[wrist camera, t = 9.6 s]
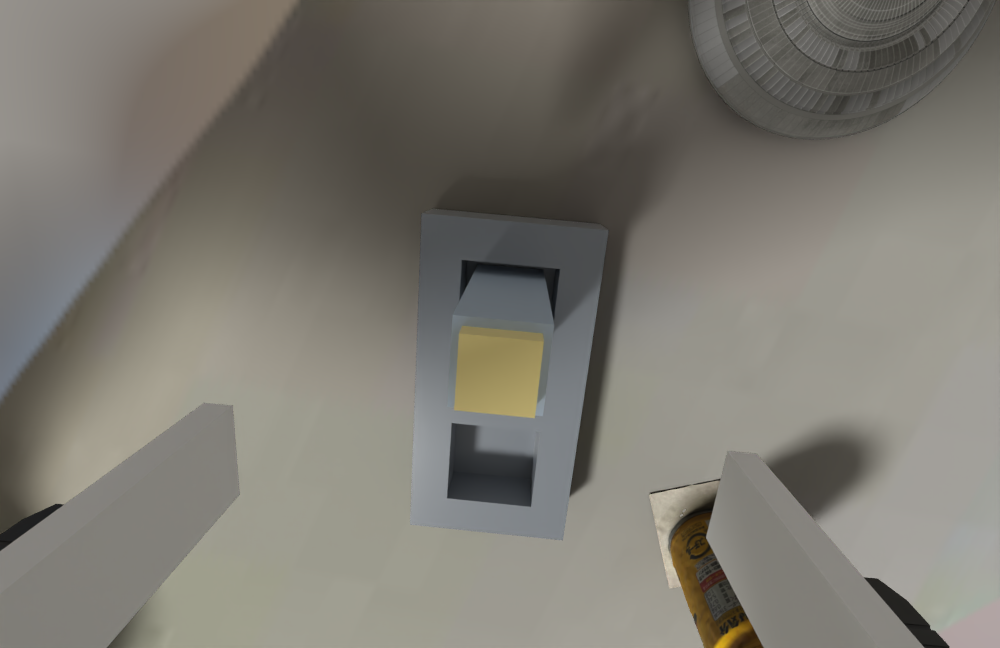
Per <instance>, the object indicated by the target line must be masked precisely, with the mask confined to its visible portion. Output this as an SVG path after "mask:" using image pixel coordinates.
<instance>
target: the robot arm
mask: <svg viewBox="0 0 1000 648" xmlns="http://www.w3.org/2000/svg"><path fill="white" fill-rule="evenodd" d="M239 495H240V491H239V478H238V466H237V453H236V440H235V428H234V415H233V405H223V404H212V403H203V404H202V405H200V406H199V407H198V408H196V409H195V410H193V411H192V412H191V413H189V414H188V415H187V416H185V417H184V418H182V419H181V420H180V421H178V422H177V423H176V424H174V425H173V426H171V427H170V428H169V429H167V430H166V431H165V432H163V433H162V434H160V435H159V436H158V437H156V438H155V439H154V440H152V441H151V442H149V443H148V444H147V445H145V446H144V447H143V448H141V449H140V450H138V451H137V452H136V453H134V454H133V455H132V456H130V457H129V458H128V459H126V460H125V461H123V462H122V463H121V464H119V465H118V466H117V467H115V468H114V469H112V470H111V471H110V472H108V473H107V474H106V475H104V476H103V477H101V478H100V479H99V480H97V481H96V482H95V483H93V484H92V485H90V486H89V487H88V488H86V489H85V490H84V491H82V492H81V493H79V494H78V495H77V496H75V497H74V498H73V499H71V500H70V501H68V502H67V503H66V504H64V505H62V504H55V505H53V506H51V507H49V508H46V509H44V510H42V511H40V512H38V513H36V514H34V515H31V516H29V517H27V518H25V519H23V520H21V521H20V522H18V523H17V524H15V525H14V526H13V527H11V528H10V529H8V530H7V531H5V532H4V533H2V534H1V535H0V648H107V647H108V646H109V644H110V643H111V642H112V641H113V640H114V639H115V638H116V636H117V635H118V634H119V633H120V632H121V631H122V629H123V628H124V627H125V626H126V625H127V624H128V623H129V621H130V620H131V619H132V618H133V617H134V616H135V614H136V613H137V612H138V611H139V610H140V609H141V608H142V606H143V605H144V604H145V603H146V602H147V601H148V600H149V598H150V597H151V596H152V595H153V594H154V593H155V591H156V590H157V589H158V588H159V587H160V586H161V585H162V583H163V582H164V581H165V580H166V579H167V578H168V576H169V575H170V574H171V573H172V572H173V571H174V570H175V568H176V567H177V566H178V565H179V564H180V563H181V561H182V560H183V559H184V558H185V557H186V556H187V555H188V553H189V552H190V551H191V550H192V549H193V548H194V546H195V545H196V544H197V543H198V542H199V541H200V540H201V538H202V537H203V536H204V535H205V534H206V533H207V531H208V530H209V529H210V528H211V527H212V526H213V525H214V523H215V522H216V521H217V520H218V519H219V518H220V516H221V515H222V514H223V513H224V512H225V511H226V510H227V508H228V507H229V506H230V505H231V504H232V503H233V502H234V500H235V499H236V498H237V497H238V496H239ZM706 539H707V540H708V542H709V544H710V546H711V548H712V550H713V552H714V554H715V556H716V558H717V560H718V561H719V563H720V565H721V567H722V569H723V571H724V573H725V575H726V577H727V579H728V581H729V582H730V584H731V586H732V588H733V590H734V592H735V594H736V596H737V598H738V600H739V602H740V603H741V605H742V607H743V609H744V611H745V613H746V615H747V617H748V619H749V621H750V623H751V624H752V626H753V628H754V630H755V632H756V634H757V636H758V638H759V640H760V642H761V644H762V645H763V647H764V648H949V646H948V645H947V643H946V642H945V641H944V640H943V639H942V638H941V637H940V636H939V635H938V634H937V633H936V631H934V630H931V629H930V625H929V624H928V623H927V622H926V621H925V619H924V618H923V617H922V616H921V615H920V614H919V613H918V612H917V611H916V610H915V609H914V608H913V606H912V605H911V604H910V603H909V602H908V601H907V600H906V599H904V598H903V597H902V596H900V595H899V594H898V593H896V592H895V591H893V590H892V589H891V588H889V587H888V586H887V585H885V584H884V583H883V582H881V581H880V580H879V579H875V578H864V577H863V576H862V575H861V574H860V573H859V572H858V570H857V569H856V568H855V567H854V566H853V565H852V563H851V562H850V561H849V560H848V559H847V558H846V556H845V555H844V554H843V553H842V552H841V551H840V550H839V548H838V547H837V546H836V545H835V544H834V543H833V541H832V540H831V539H830V538H829V537H828V536H827V534H826V533H825V532H824V531H823V530H822V529H821V528H820V526H819V525H818V524H817V523H816V522H815V521H814V519H813V518H812V517H811V516H810V515H809V514H808V513H807V511H806V510H805V509H804V508H803V507H802V506H801V504H800V503H799V502H798V501H797V500H796V499H795V497H794V496H793V495H792V494H791V493H790V492H789V491H788V489H787V488H786V487H785V486H784V485H783V484H782V482H781V481H780V480H779V479H778V478H777V477H776V475H775V474H774V473H773V472H772V471H771V470H770V469H769V467H768V466H767V465H766V464H765V463H764V462H763V460H762V459H761V458H760V457H759V456H758V455H757V454H756V453H745V452H735V451H727V455H726V459H725V463H724V467H723V471H722V475H721V479H720V483H719V487H718V491H717V495H716V499H715V503H714V507H713V511H712V515H711V519H710V523H709V527H708V532H707V536H706Z"/></svg>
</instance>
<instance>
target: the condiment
mask: <svg viewBox="0 0 1000 648" xmlns="http://www.w3.org/2000/svg"><path fill="white" fill-rule="evenodd" d="M719 483H720V481H713V482H708V483H703V484H698V485H690V486H687V487H684V488H679V489H673V490H667V491H664V492H660V493H655V494H649V497H650V502H651V506H652V511H653V515H654V520H655V524H656V529H657V534H658V538H659V543H660V548H661V552H662V557H663V562H664V566H665V571H666V575H667V580H668V584H669V588H670V589H671V588H675V587H681V586H682V589H683V592H684V595H685V598H686V601H687V603H688V607H689V609H690V612H691V614H692V616H693V618H694V621H695V624H696V626H697V629H698V632H699V634H700V637H701V640H702V642H703V646H704V648H764V647H763V645H762V644H761V642H760V640H759V638H758V636H757V634H756V632H755V630H754V628H753V626H752V624H751V623H750V621H749V619H748V617H747V615H746V613H745V611H744V609H743V607H742V605H741V603H740V602H739V600H738V598H737V596H736V594H735V592H734V590H733V588H732V586H731V584H730V582H729V581H728V579H727V577H726V575H725V573H724V571H723V569H722V567H721V565H720V563H719V561H718V560H717V558H716V556H715V554H714V552H713V550H712V548H711V546H710V544H709V542H708V540H707V539H706V536H707V532H708V527H709V523H710V519H711V515H712V511H713V507H714V503H715V499H716V495H717V491H718V487H719ZM684 509H686V511H685V512H684V513H683V512H682V511H683V510H684ZM681 514H683V516H682V517H680V515H681Z"/></svg>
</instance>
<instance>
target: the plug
mask: <svg viewBox="0 0 1000 648" xmlns="http://www.w3.org/2000/svg"><path fill="white" fill-rule="evenodd" d="M553 331H554V321H553V316H552V311H551V306H550V300H549V295H548V290H547V285H546V280H545V275H544V270H537V269H526V268H515V267H504V266H493V265H483V264H478V265H477V267H476V269H475V271H474V273H473V275H472V277H471V279H470V281H469V283H468V285H467V287H466V289H465V291H464V293H463V295H462V297H461V299H460V301H459V303H458V305H457V307H456V309H455V311H454V313H453V317H452V334H451V351H450V368H449V385H448V402H447V407H453V408H454V410H456V411H467V412H477V413H487V414H497V415H507V416H517V417H527V418H535V416H543V412H544V404H545V396H546V388H547V380H548V372H549V364H550V355H551V347H552V339H553Z"/></svg>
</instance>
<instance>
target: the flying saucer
mask: <svg viewBox="0 0 1000 648" xmlns="http://www.w3.org/2000/svg"><path fill="white" fill-rule="evenodd" d="M995 1H996V0H688V14H689V23H690V30H691V35H692V39H693V43H694V47H695V50H696V53H697V56H698V59H699V61H700V64H701V66H702V68H703V70H704V72H705V74H706V76H707V78H708V79H709V81H710V83H711V84H712V86H713V87H714V89H715V90H716V92H717V93H718V94H719V95H720V97H721V98H722V99H723V100H724V101H725V102H726V103H727V104H728V105H729V106H730V107H731V108H732V109H733V110H734V111H735V112H737V113H738V114H739V115H740V116H742V117H743V118H745V119H746V120H748V121H749V122H751V123H753V124H754V125H756V126H758V127H760V128H762V129H764V130H767V131H769V132H772V133H775V134H778V135H782V136H786V137H791V138H798V139H809V140H821V139H832V138H839V137H844V136H849V135H853V134H857V133H860V132H863V131H866V130H869V129H871V128H874V127H876V126H879V125H881V124H883V123H885V122H887V121H889V120H891V119H893V118H895V117H896V116H898V115H900V114H901V113H903V112H905V111H906V110H908V109H909V108H911V107H912V106H913V105H915V104H916V103H917V102H919V101H920V100H921V99H923V98H924V97H925V96H926V95H927V94H929V93H930V92H931V91H932V90H933V89H934V88H935V87H936V86H937V85H938V84H940V83H941V82H942V80H943V79H944V78H945V77H946V76H947V75H948V74H949V73H950V72H951V71H952V70H953V69H954V67H955V66H956V65H957V64H958V63H959V61H960V60H961V59H962V58H963V56H964V55H965V54H966V52H967V51H968V50H969V48H970V47H971V45H972V44H973V43H974V41H975V39H976V38H977V36H978V35H979V33H980V31H981V30H982V28H983V26H984V24H985V22H986V21H987V19H988V17H989V15H990V12H991V10H992V8H993V6H994V4H995Z"/></svg>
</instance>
